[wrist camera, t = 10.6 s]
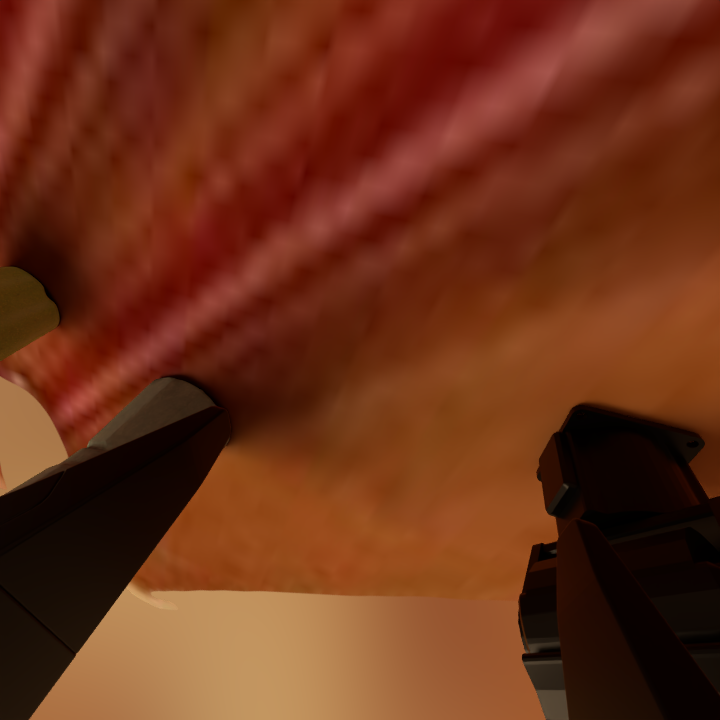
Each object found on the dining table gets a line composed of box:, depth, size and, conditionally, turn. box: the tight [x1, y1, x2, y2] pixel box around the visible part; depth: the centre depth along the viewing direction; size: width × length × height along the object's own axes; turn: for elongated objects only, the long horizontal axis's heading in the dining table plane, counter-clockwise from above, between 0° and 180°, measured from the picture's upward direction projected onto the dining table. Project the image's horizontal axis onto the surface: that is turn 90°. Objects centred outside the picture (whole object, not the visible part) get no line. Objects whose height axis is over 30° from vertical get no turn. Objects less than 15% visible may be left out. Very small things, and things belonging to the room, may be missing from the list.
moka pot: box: [4, 377, 230, 495], centre depth 25 cm, size 10×15×20 cm, turn 146°
